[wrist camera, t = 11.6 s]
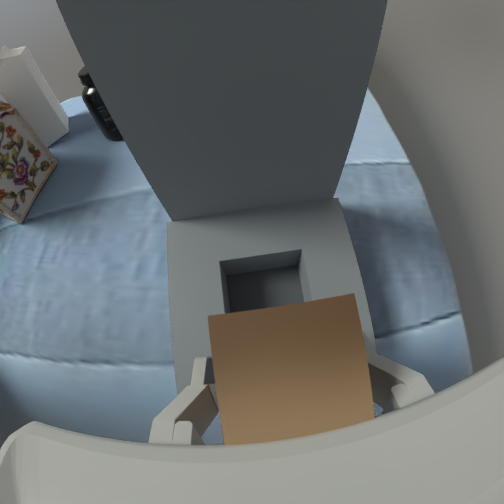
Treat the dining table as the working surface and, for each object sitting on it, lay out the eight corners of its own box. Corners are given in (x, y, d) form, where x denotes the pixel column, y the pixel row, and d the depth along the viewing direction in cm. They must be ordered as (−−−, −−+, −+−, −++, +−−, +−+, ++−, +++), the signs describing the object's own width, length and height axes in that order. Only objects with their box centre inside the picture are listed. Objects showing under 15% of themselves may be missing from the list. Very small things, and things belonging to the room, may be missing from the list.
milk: (68, 117, 38) (20, 32, 18) (69, 132, 36) (13, 39, 16) (44, 134, 38) (-8, 55, 17) (43, 151, 35) (-18, 65, 15)
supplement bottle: (152, 109, 36) (128, 46, 25) (133, 141, 33) (99, 74, 22) (117, 112, 36) (90, 56, 25) (97, 143, 34) (61, 85, 23)
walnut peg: (312, 391, 16) (375, 431, 6) (250, 401, 16) (226, 458, 6) (303, 333, 17) (354, 293, 7) (242, 342, 17) (207, 315, 7)
